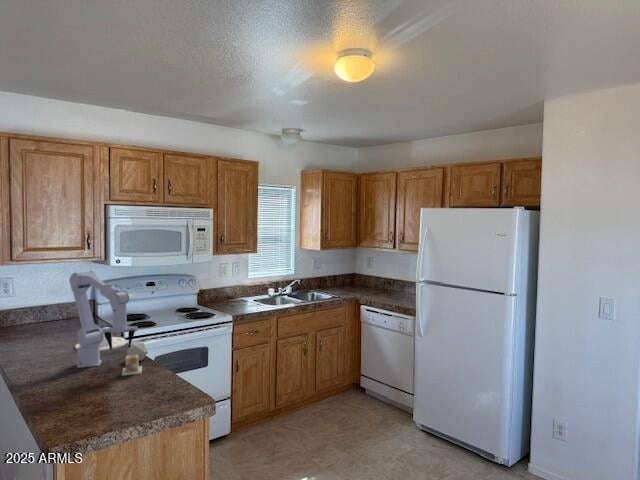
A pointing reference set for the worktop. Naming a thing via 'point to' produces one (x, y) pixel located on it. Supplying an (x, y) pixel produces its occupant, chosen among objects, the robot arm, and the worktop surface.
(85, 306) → the robot arm
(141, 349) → the die
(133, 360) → the maple block
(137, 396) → the worktop surface
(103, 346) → the dish
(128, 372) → the tray
